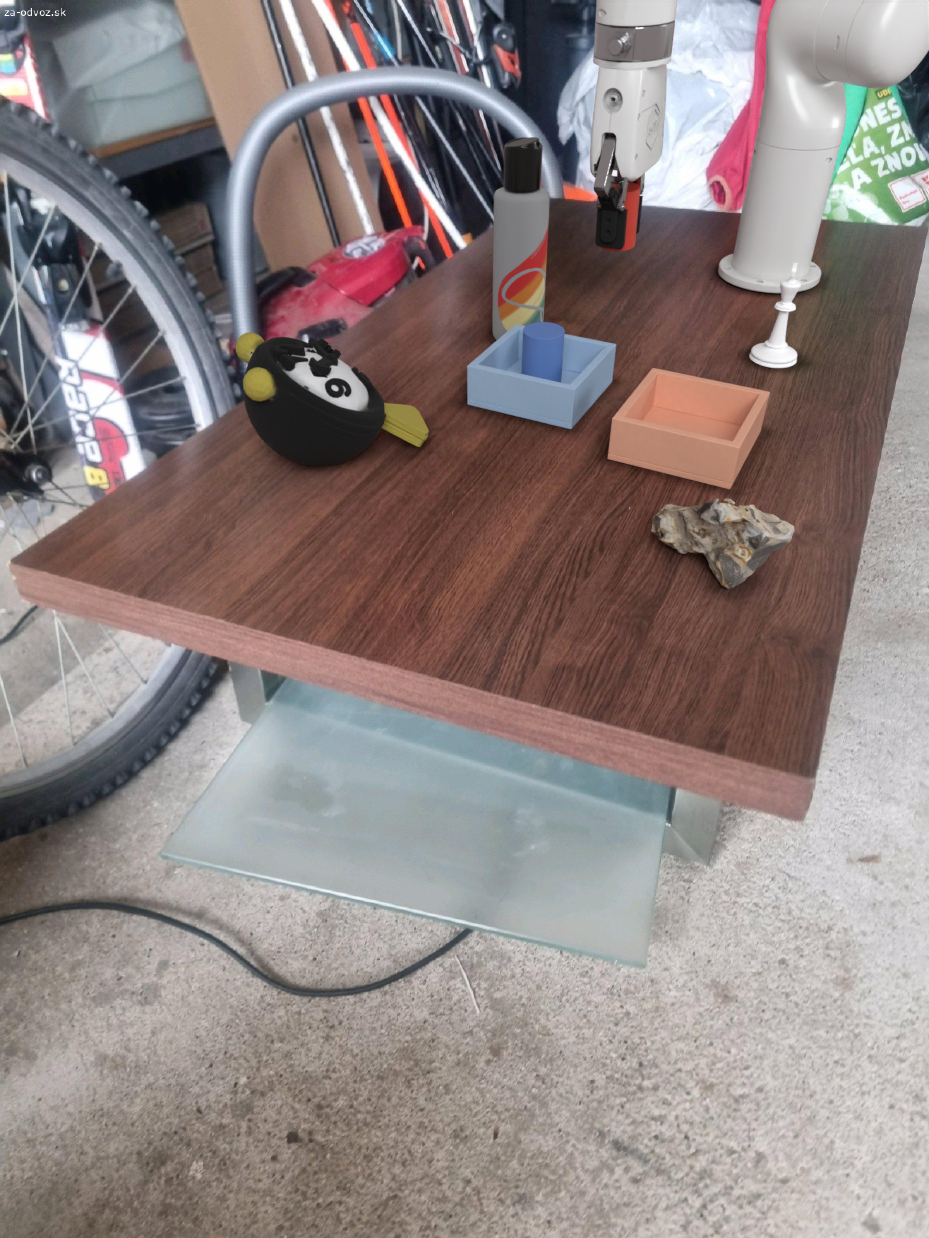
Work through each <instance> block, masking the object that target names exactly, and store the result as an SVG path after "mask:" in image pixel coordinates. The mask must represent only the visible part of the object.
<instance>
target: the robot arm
mask: <svg viewBox="0 0 929 1238" xmlns="http://www.w3.org/2000/svg"><path fill="white" fill-rule="evenodd" d="M595 3H596V5H595V6H596V7H595V22H594V35H593V36H594V37H593V57H592V63H593V64H594V65H596V66H598V72H597V78H596V87H595V95H594V102H593V112H592V114H593V115H592V123H591V134H590V135H591V136H590V147H589V148H590V149H589V151H590V152H589V153H590V154H589V169H590V173H591V175H592V176H593V177H594V184H593V191H594V192H595V194H596V196H597V198H596V199H597V200H596V209H597V210H596V225H595V237H594V238H595V239H594V240H595V241H594V245H595V246H596V247H599V248H601V247H606V248H613V249H622V248H623V247H624V245H625V236H626V224H627V213H628V209H624V207H625V201H626V194H627V187H628V182H632V183H636V184H638V185H640V198H639V209H638V219H637V230H636V235H638V234H639V233H640V231H641V230H640V229H641V220H642V218H641V217H642V211H643V209H642V208H643V200H644V199H643V198H644V196H643V194H644V191H645V182H646V181H645V179H646V173H647V172H648V171H649V170H650V169H651V168H652V167H654V166H655V165H656V164H657V163H658V162H659V161H660V160H661V158H662V155H663V148H664V147H663V146H664V133H665V120H666V107H667V106H666V104H667V85H668V84H667V83H668V81H667V79H668V73H667V72H668V70H667V69H668V67H667V65H668V64H669V63H671V62H672V53H673V44H674V35H675V27H676V16H677V7H678V0H596V2H595ZM765 38H766V39H765V75H764V87H763V94H762V95H763V96H762V102H761V103H762V104H761V109H760V115H759V122H758V126H757V131H756V136H755V141H754V146H753V151H752V156H751V161H750V165H749V171H748V177H747V181H746V186H745V193H744V197H743V201H742V203H743V204H742V208H741V214H740V219H739V224H738V227H737V228H738V230H737V234H736V239H735V243H734V249H733V253H729V254H728V255H725V256H724V257H723V258H722V259H720V261H719V262H718V268H717V272H718V275H719V277H720V278H721V279H722V280H724V281H725V282H726V283H728V284H730V285H732V286H735V287H737V288H740V289H745V290H748V291H753V292H759V293H766V294H781V288H780V283H781V281H783V280H785V279H790V275H791V270H792V266H793V262H796V263H798V265H797V269H796V274H795V278H794V279H795V280H797V281H799V282H800V283H801V287H800V289H799V290H798V292H797V293H799V292H804V291H808V290H810V289H813V288H814V287H816V286H817V285H818V284H819V283H820V281H821V277H822V269H821V267H819V265H817V264H816V263H815V262H813V261H812V259H813V257H814V256H813V255H814V252H815V247H816V244H817V239H818V235H819V231H820V228H821V224H822V220H823V216H824V212H825V207H826V204H827V199H828V196H829V191H830V187H831V184H832V180H833V176H834V171H835V167H836V163H837V160H838V155H839V152H840V148H841V145H842V141H843V137H844V134H845V131H846V130H845V129H846V124H847V98H846V91H845V86H844V84H847V85H851V86H852V85H853V86H857V87H861V88H868V89H874V90H875V89H877V90H881V89H887V88H888V89H889V88H890V87H894V86H896V85H898V84H899V83H901V82H902V81H904V80H905V79H907V77H909V76H910V75H911V73H913V72H914V70H915V69H916V68H917V67H918V66H919V64H920V63H921V62H922V61H923V59H924V58H925V57H926V55H927V54H928V52H929V0H775V1H774V3H773V6H772V7H771V10H770V14H769V17H768V21H767V27H766V37H765ZM614 171H616V175H613V172H614ZM611 183H614V184H620V185H619V192H618V193H617V190H616V187H612V184H611Z"/></svg>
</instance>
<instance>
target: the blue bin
mask: <svg viewBox="0 0 929 1238" xmlns="http://www.w3.org/2000/svg"><path fill="white" fill-rule="evenodd" d="M524 327H525V326H523V325H518V324H516V325H514V326H513V327H512V328H511V329H510V330H508V331H507V332H506V333H505V334H504V335H503V336H501V337H500V338H499V339H498V340H496V341H494V342H493V343H492V344H491V345H489V346H488V347H487V348H486V349H485V350H483V352H481V353H480V354H479V355H478V356H476V358H474V359H473V360H472V361H471V362H470V363H469V364H467V366H466V384H467V385H466V386H467V388H466V389H467V390H466V393H467V396H466V397H467V398H466V399H467V404H466V405H468V406H471V407H476V408H481V409H484V410H489V411H493V412H496V413H501V414H506V415H510V416H514V417H518V418H522V419H526V420H530V421H533V422H534V421H535V422H539V423H541V424H542V423H543V424H547V425H551V426H556V427H559V428H563V429H568V430H573V428H574V427H575V426H576V425H577V424H578V422H579V421H580V420H581V419H582V417H584V416H585V415H586V413H587V412H588V411H589V409H590V408H592V406H593V405H594V404H595V403H596V402H597V400H598V399H599V398H600V397H601V396H602V394H603V393H604V392H605V391H606V390H607V389H608V388H609V386H610V385H611V384H612V383H613V377H614V368H615V360H616V351H617V344H616V343H614V342H613V343H612V342H607V341H603V340H598V339H593V338H587V337H582V336H578V335H573V334H567V333H565V335H564V350H563V364H562V378H561V383H560V382H556V381H551V380H547V379H542V378H538V377H533V376H529V375H524V374H521V371H522V344H523V329H524Z"/></svg>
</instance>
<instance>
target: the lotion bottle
mask: <svg viewBox="0 0 929 1238" xmlns="http://www.w3.org/2000/svg"><path fill="white" fill-rule="evenodd" d="M503 147H504V148H503V187H499V188H498V189H496V190H495V192H494V194H493V241H492V242H493V243H492V244H493V245H492V246H493V247H492V249H493V250H492V252H493V253H492V336H493V338H494V339H495V340H496V341H497V340H498V339H499V338H500V337H501V336H503V335H504V334H505V333H506V332H507V331H508V330H510V329H511V328H512V327H513V326H514V325H516V324H518V325H523V326H527V325H529V324H531V323H536V322H544V318H545V317H544V316H545V301H546V300H545V298H546V278H547V277H546V276H547V259H548V242H549V241H548V238H549V224H550V223H549V221H550V202H551V201H550V200H551V199H550V198H551V197H550V191H548V189H546V188H544V187H541V186H542V169H543V150H544V147H543V144H542V142H540V138H539V137H537V136H530V137H527V136H526V137H524V136H523V137H518V138H515V139H511V140H509V141H508V142H506V143H505V144H504V146H503Z"/></svg>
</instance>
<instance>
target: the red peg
mask: <svg viewBox="0 0 929 1238" xmlns="http://www.w3.org/2000/svg"><path fill="white" fill-rule="evenodd" d="M611 184H612V187H616V190H617V193H618V192H619V185H620V184H614V183H611ZM640 196H641V195H640V185H638V184H636V183H632V182H628V187H627V194H626V201H625V207H624V209H628V213H627V224H626V236H625V245H624V247H623V248H622V249H613V248H606V247H600V249H603V250H606V251H609V252H625V251H629V250H632V249H634V248H635V246H636V242H637V241H636V240H637V234H636V230H637V219H638V209H639V198H640Z"/></svg>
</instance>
